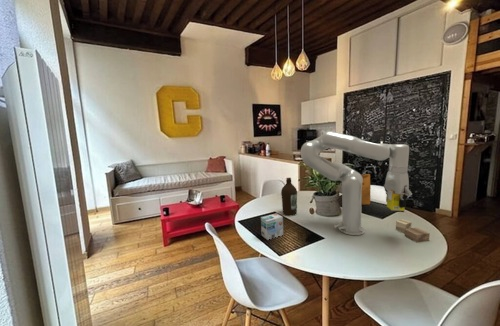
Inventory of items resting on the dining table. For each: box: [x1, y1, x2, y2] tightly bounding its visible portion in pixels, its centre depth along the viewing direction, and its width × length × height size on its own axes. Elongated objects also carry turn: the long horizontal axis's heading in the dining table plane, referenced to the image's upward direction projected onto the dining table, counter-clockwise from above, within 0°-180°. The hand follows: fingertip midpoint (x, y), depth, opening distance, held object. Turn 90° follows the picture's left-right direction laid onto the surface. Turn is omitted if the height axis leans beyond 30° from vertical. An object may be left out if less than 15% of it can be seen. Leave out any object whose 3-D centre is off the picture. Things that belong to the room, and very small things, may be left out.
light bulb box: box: [260, 213, 284, 241], centre depth 122 cm, size 11×7×11 cm, turn 117°
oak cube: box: [395, 218, 412, 234], centre depth 120 cm, size 5×5×5 cm
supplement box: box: [386, 190, 406, 213], centre depth 111 cm, size 6×6×11 cm
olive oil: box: [280, 177, 298, 216], centre depth 152 cm, size 11×11×25 cm
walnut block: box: [404, 227, 431, 243], centre depth 111 cm, size 7×7×4 cm
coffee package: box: [360, 173, 372, 206], centre depth 165 cm, size 10×12×22 cm
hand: (395, 204), depth 111 cm, fingers closed on supplement box, 7 cm apart
